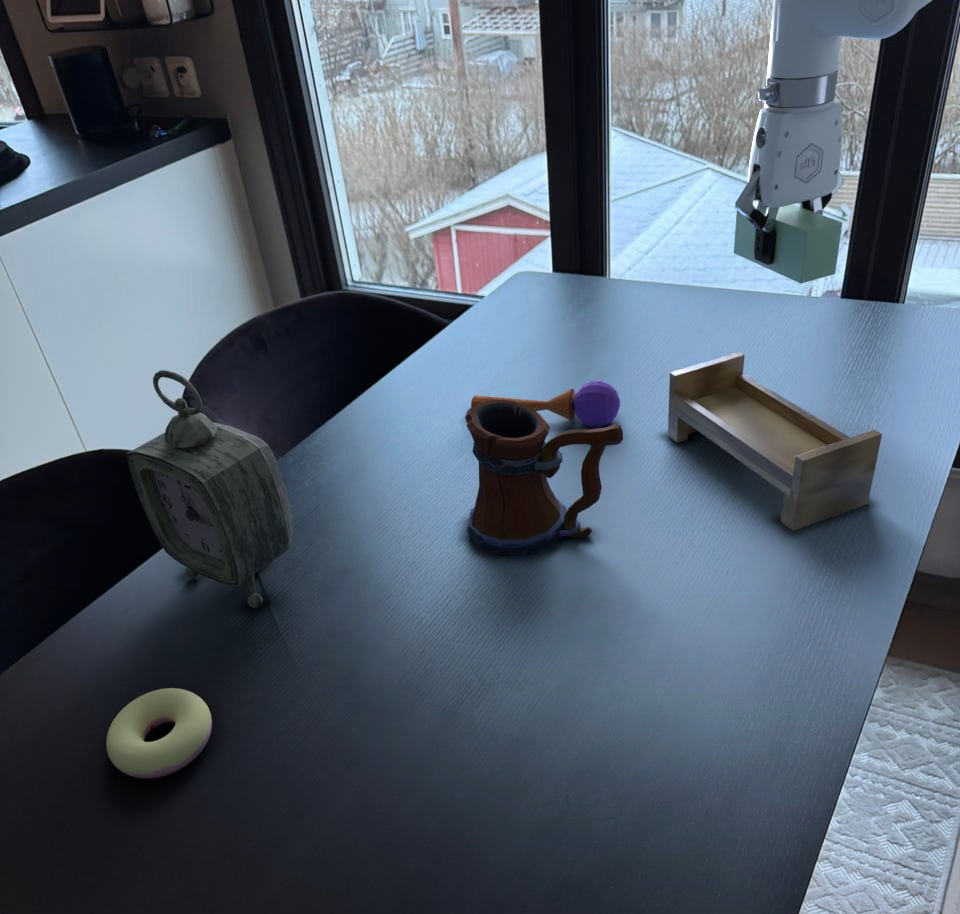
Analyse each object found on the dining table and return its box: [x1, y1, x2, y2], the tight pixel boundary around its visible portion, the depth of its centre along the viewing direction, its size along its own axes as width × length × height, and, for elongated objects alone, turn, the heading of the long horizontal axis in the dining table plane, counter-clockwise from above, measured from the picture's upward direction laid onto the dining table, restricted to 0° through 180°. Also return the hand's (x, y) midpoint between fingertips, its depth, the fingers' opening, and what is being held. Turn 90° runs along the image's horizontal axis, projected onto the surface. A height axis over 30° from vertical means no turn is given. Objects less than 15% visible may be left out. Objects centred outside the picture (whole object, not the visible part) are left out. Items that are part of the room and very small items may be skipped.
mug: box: [464, 399, 624, 557], centre depth 99 cm, size 18×12×15 cm, turn 69°
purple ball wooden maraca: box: [470, 380, 621, 428], centre depth 122 cm, size 6×6×20 cm
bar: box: [733, 200, 843, 284], centre depth 113 cm, size 5×14×6 cm, turn 22°
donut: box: [105, 687, 213, 779], centre depth 84 cm, size 10×5×9 cm
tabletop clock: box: [126, 369, 295, 609], centre depth 95 cm, size 14×9×25 cm, turn 53°
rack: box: [667, 351, 883, 532], centre depth 106 cm, size 10×25×9 cm, turn 23°
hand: (783, 254), depth 115 cm, fingers closed on bar, 5 cm apart
